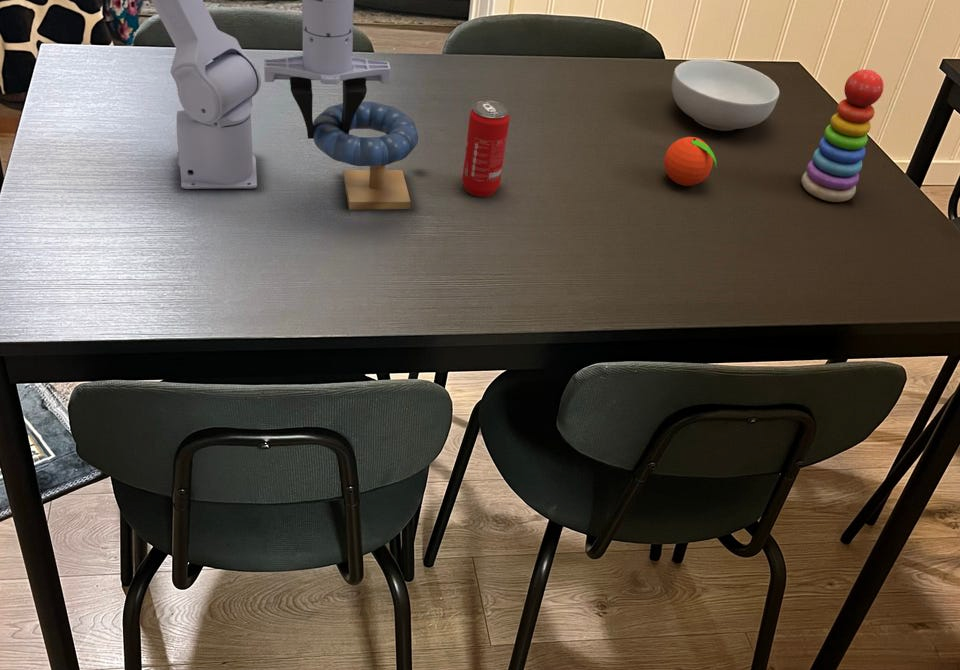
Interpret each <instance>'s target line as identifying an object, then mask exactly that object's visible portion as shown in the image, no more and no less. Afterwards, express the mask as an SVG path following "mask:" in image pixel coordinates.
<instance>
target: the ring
mask: <svg viewBox="0 0 960 670" xmlns="http://www.w3.org/2000/svg"><path fill="white" fill-rule="evenodd" d="M342 109H343V102H342V103H339V104H335V105H331V106H328V107H327V108H326V109H324V110H323V111H322V112H321V113H320V114H318V116H316V118H315V119H314V120H313V129H314V139H313V143H314V144H315V145H314V146H316V147H317V148H318V150H320V151H321V152H323V154H325V155H326V156H327V157H329V158H331V159H332V160H334V161H337V162H340V163H343V164H344V163H345V164H348V165H350V166H351V165H352V166H355V167H370V166H384V165H385V166H388V165H391V164H394V163H397V162H400V161H402V160H404V159H406V158H407V157H408V156H409V155H410V154H411V152H412V151H414V149H415V148H416V147H417V145H418V142H419V134H418V130H417V127H416V124H415V121H414V120H413V119H412V118H411V116H409V115H408V114H406V113H404V112H403V111H401V109H399V108H397V107H395V106H391V105H388V104H383V103H380V102H376V101H362V102H361V104H360V106H359V107H358V109H357V111H356V114H355V116H354V118H353V121H352V124H351V127H350V131H352V130H373V131H377V132H380V133H383V134H384V135H381V136H377V137H375V136H372V137H371V136H370V137H367V136H366V137H365V136H357V135H353V134H350V133H349V134H346V133H344V132H343V131H341V119H342Z"/></svg>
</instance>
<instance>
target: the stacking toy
mask: <svg viewBox="0 0 960 670" xmlns="http://www.w3.org/2000/svg"><path fill="white" fill-rule="evenodd" d="M843 90H844V96H845V98H844V99H842V100H841V101H839V103H837V106H836V107H837V108H836V111H837V112H835V113H834V114H833V115H832V116H831V118H830V124H828V126H826V128H825V130H824V136H823V137H822V138H821V139H820V140H819V143H818V148H817V149H815V150H814V152H813V155H812V159H811V160H810V161H809V162H808V164H807V166H806V170H805V172H804V173H803V174H802V176H801V185H802V187H803V189H804V190H805V191H806V192H808V193H809V194H810V195H812V196H813V197H816V198H817V199H819V200H823V201H826V202H832V203H843V202H847V201H849V200H851V199H852V198H853V197H854V196H855V195H856V192H857V186H856V185H858V182H859V181H860V174H859V173H860V171H862V168H863V159H864V158H865V155H866V148H865V146H866V145H867V143H868V141H869V139H868V135H867V134H869V132H870V131H871V128H872V127H871V122H870V121H871V120H872V119H873V118H874V116H875V108H874V106H873V105H874V104H875V103H877V102H878V100H879V99H881V97H882V95H883V92H884V81H883V79H882V77H881V75H880V74H879V73H877V72H876V71H874V70H872V69H859V70H857V71H855V72H853V73H852V74H850V75H849V77H848V78H847V79H846V81H845V84H844V89H843Z"/></svg>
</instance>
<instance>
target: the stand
mask: <svg viewBox="0 0 960 670" xmlns="http://www.w3.org/2000/svg"><path fill="white" fill-rule="evenodd" d="M342 175H343V177H342V178H343V183H344V189H345V190H344V191H345V194H346V200H347V206H348V210H349V211H351V210H352V211H353V210H354V211H355V210H411V198H410V193H409V190H408V187H407V183H406V179H405V176H404V175H405V174H404V172H403V169H386V165H384V166H369V169H343V174H342Z"/></svg>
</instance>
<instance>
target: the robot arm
mask: <svg viewBox="0 0 960 670" xmlns="http://www.w3.org/2000/svg"><path fill="white" fill-rule="evenodd" d="M150 2H151V3H152V5H153V7H154V9H155V10H156V13H157V14H158V17H159V19H160V20H161V22H162V24H163V26H164V28H165V30H166V32H167V33H168V35H169V37H170V39H171V41H172V43H173V44H174V47H175V54H174V57H173V59H172V64H171V67H170V75H171V76H172V78H173V80H174V82H175V84H176V88H177V95H178V101H179V103H180V105H181V106H182V108H183V109H182V110H177V111H176V139H177V141H176V142H177V165H178V166H179V172H180V173H179V174H180V187H181V188H182V189H184V190H185V189H186V190H189V189H191V190H192V189H195V190H196V189H198V190H201V189H204V190H205V189H207V190H208V189H210V190H211V189H256V188H257V187H258V180H257V179H258V178H257V160H256V159H257V158H256V155H254V154H253V134H252V133H253V132H252V129H253V128H252V107H253V97H255V96H256V95H257V94H258V92H259V91H260V88H261V84H262V77H261V73H260V71H259V68H258V66H257V65H256V63H255V62H254V60H253V59H252V58H251V57H250V56H248V54H247V53H246V52H245V51H244V50H243V49H242V47H241V45H240V43H239V41H238V39H237V38H236V37H234V36H232V35H230V34H229V33H228V34H227V33H226V32H223V31H221V30H219V29H218V27H217V26H216V24H215V21H214V20H213V17H212V15H211V14H210V11H209V10H208V8H207V6H206V4H205V1H204V0H150ZM354 5H355V0H301V16H302V17H301V21H302V22H301V23H302V24H301V26H302V27H301V28H302V29H301V30H302V32H301V33H302V55H296V56H290V57H289V56H288V57H281V58H264V59H263V71H264V74H263V75H264V83H274V82H275V80H279V81H280V80H284V81H286V80H287V81H288V80H289V85H290V86H289V88H290V93H291V94H292V97H293V99H294V101H295V103H296V104H297V106H298V109H299V110H300V113H301V115H302V118H303V120H304V124H305V127H306V135H307V139H309V140H314V129H313V122H314V120H313V96H314V94H313V84H312V81H320V83H321V84H323V85H337V84H339V83H340V82H341V81H342V103H343V109H342V119H341V131H343V132H344V133H346V134H350V131H351V130H350V127H351V124H352V121H353V118H354V116H355V114H356V111H357V109H358V107H359V106H360V104H361V102H364V100H365V98H366V95H367V91H368V90H367V89H368V88H367V82H380V84H383V85H384V84H386V85H387V84H390V83H391V65H390V62H389V61H384V60H382V61H381V60H373V59H368V58H361V57H354V56H353V52H354V51H353V49H354V11H355V10H354V9H355V7H354Z"/></svg>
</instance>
